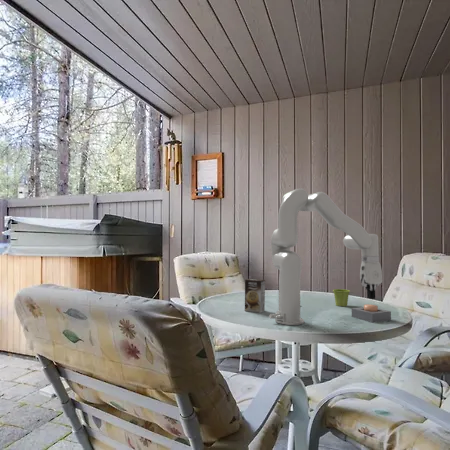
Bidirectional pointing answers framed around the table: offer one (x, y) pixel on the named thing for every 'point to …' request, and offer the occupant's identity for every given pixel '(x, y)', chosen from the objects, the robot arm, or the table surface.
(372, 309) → the push button
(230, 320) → the table surface
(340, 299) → the plant pot
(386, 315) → the button box
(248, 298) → the coffee box
